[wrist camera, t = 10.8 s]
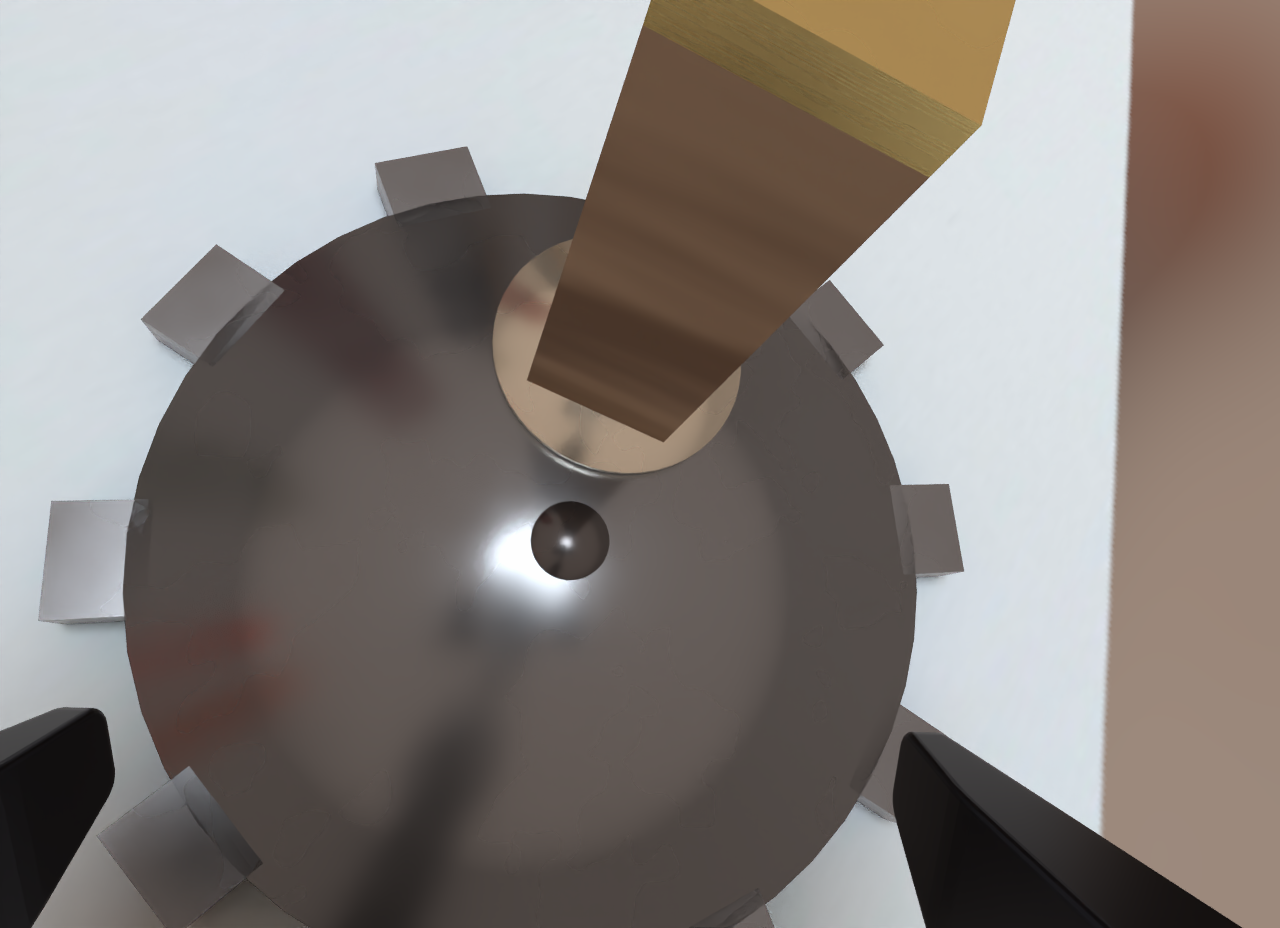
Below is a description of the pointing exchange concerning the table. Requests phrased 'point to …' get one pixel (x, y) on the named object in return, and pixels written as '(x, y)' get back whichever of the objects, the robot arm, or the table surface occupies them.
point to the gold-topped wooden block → (750, 182)
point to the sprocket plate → (494, 595)
